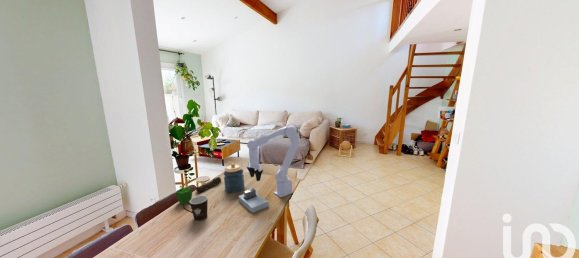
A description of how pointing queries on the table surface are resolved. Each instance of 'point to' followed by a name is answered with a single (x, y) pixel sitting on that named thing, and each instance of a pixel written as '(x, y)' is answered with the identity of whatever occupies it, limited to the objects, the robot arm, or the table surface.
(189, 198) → the bell pepper
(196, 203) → the coffee mug
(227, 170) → the canister
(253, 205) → the slotted pale blue plate
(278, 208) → the table surface
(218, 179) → the hand tool
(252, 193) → the tall dark grey prism
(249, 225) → the table surface
